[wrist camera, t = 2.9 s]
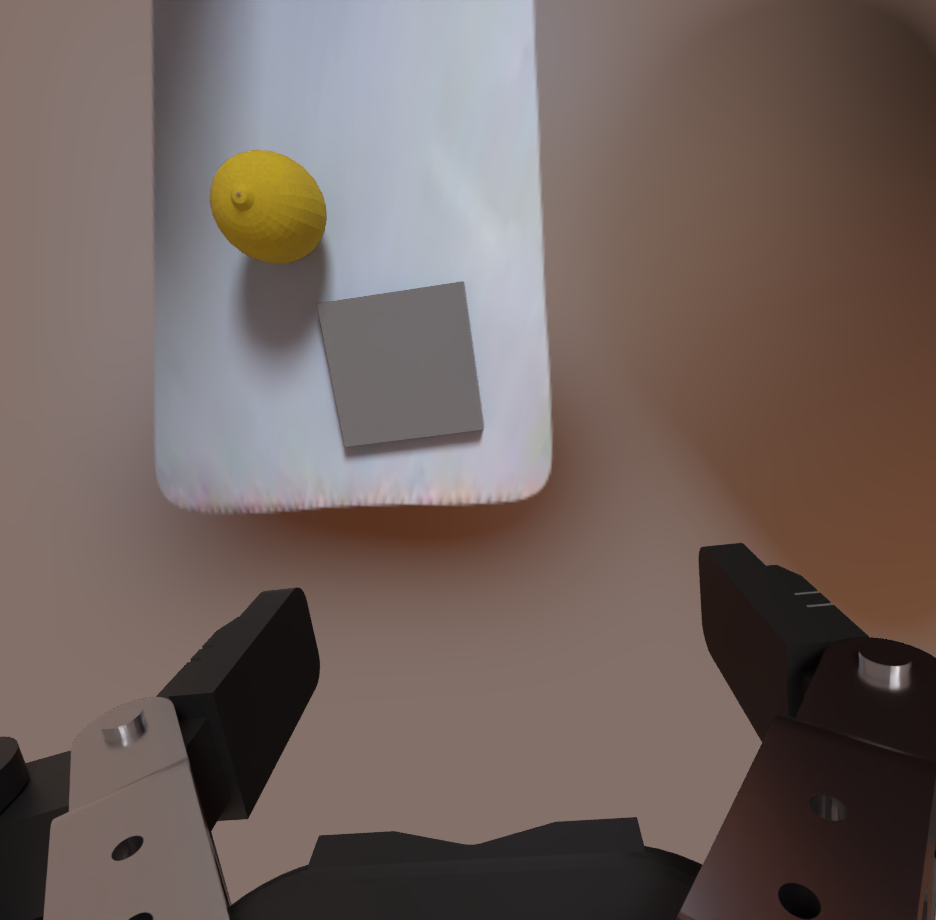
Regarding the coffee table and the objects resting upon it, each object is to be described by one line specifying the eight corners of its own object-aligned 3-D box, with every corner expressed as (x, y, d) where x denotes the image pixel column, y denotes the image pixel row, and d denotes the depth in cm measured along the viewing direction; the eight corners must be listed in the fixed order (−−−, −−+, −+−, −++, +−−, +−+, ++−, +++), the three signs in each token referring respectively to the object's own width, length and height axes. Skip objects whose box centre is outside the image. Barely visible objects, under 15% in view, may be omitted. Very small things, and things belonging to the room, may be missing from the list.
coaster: (321, 303, 36) (316, 303, 36) (464, 282, 36) (463, 281, 35) (348, 443, 39) (344, 447, 38) (484, 426, 38) (483, 429, 37)
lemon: (340, 169, 35) (291, 129, 27) (344, 268, 36) (299, 257, 28) (248, 170, 35) (174, 131, 27) (256, 268, 36) (188, 257, 29)
